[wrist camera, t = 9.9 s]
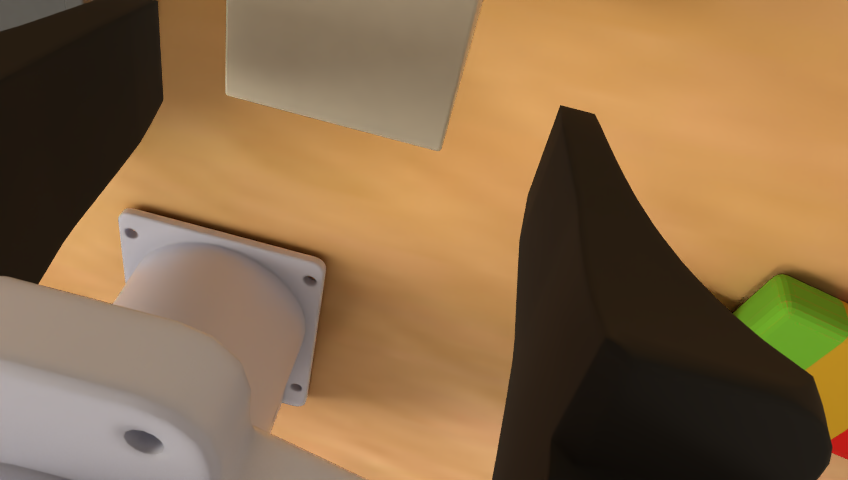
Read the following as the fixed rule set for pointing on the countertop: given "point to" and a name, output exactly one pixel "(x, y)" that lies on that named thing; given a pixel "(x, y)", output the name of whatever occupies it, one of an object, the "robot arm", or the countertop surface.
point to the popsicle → (807, 341)
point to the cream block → (353, 61)
